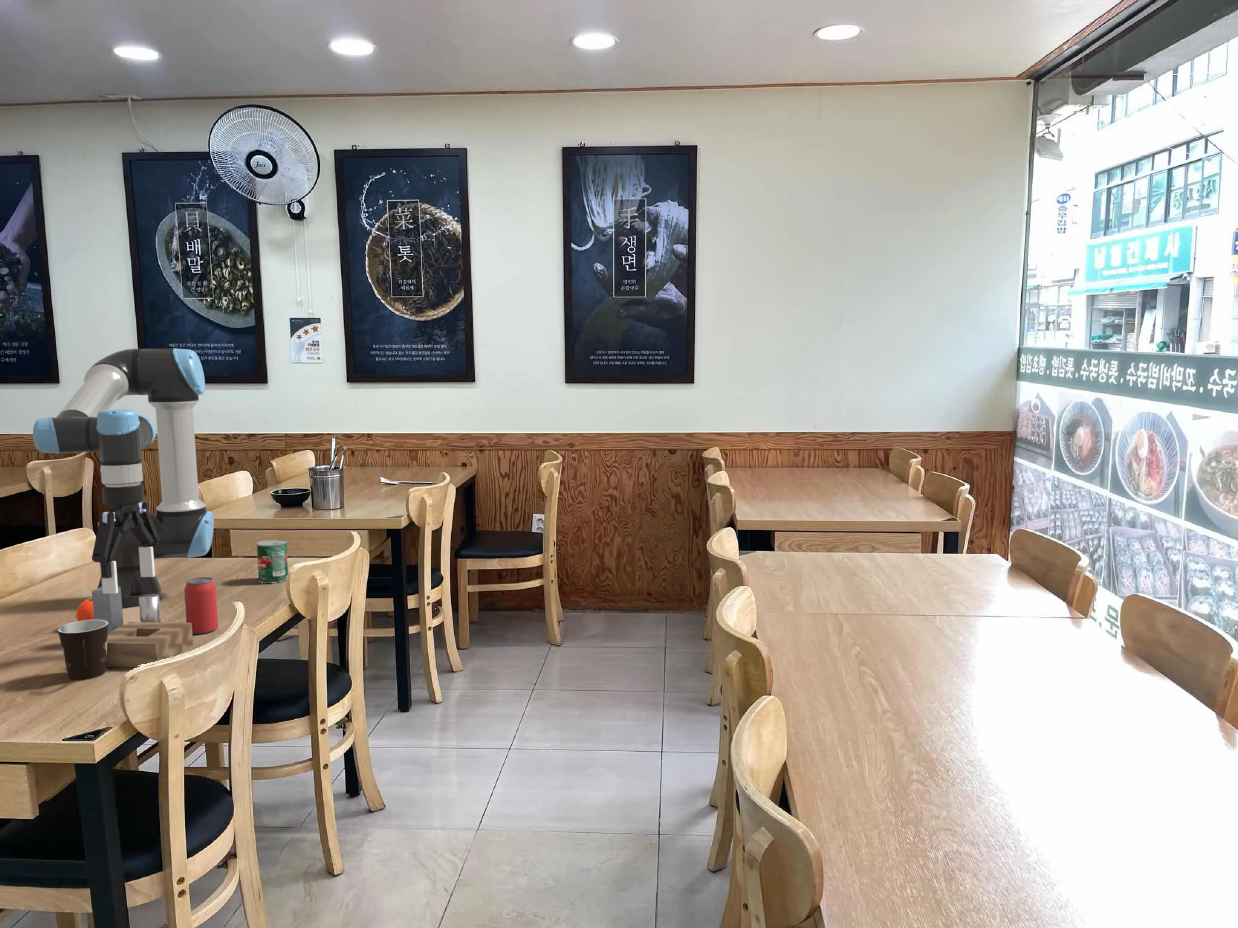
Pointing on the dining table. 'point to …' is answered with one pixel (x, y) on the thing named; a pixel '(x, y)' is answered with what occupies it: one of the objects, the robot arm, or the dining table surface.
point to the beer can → (201, 605)
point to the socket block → (146, 642)
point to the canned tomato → (272, 560)
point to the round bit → (149, 608)
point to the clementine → (85, 610)
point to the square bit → (108, 608)
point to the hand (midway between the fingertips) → (129, 584)
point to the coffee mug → (84, 648)
